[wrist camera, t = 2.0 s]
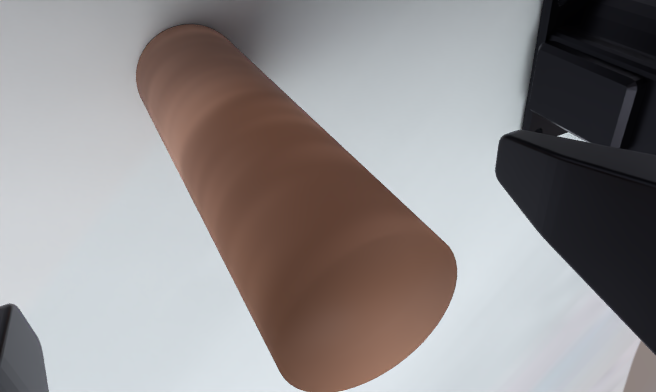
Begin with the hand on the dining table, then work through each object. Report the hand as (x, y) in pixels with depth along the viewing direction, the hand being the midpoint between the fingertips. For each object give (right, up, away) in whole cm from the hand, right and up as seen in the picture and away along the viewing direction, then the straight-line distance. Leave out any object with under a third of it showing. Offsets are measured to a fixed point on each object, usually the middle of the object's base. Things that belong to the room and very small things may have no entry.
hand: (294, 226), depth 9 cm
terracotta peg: (-3, +4, +6) cm, 8 cm away
